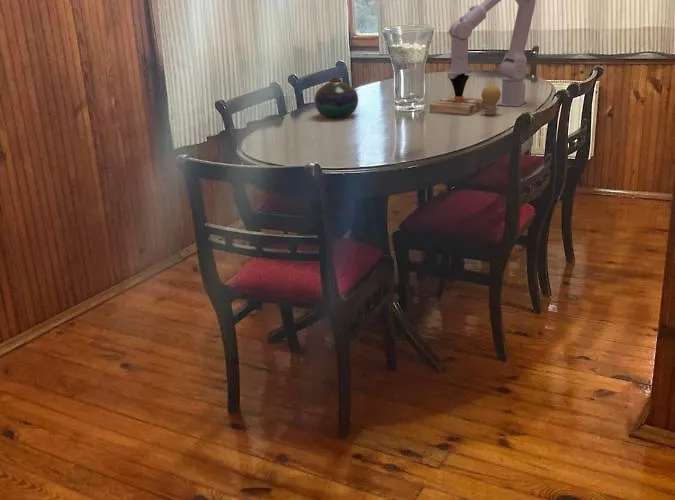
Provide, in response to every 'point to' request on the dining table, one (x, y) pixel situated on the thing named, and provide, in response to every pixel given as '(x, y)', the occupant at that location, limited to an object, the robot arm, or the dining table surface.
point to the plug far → (446, 99)
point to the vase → (336, 99)
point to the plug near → (471, 101)
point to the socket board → (457, 106)
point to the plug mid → (458, 99)
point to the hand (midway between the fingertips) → (458, 96)
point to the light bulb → (491, 98)
